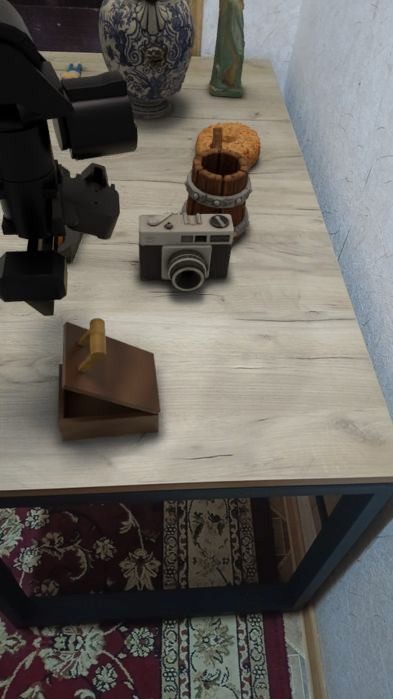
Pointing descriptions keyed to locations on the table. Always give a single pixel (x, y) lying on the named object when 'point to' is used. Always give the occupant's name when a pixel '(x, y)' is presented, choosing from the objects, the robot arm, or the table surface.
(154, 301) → the table surface
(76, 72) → the figurine
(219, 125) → the bagel
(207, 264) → the camera
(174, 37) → the decorative vase
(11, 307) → the table surface
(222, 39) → the statue
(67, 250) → the block
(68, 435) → the chest
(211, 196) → the mug
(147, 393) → the lid
